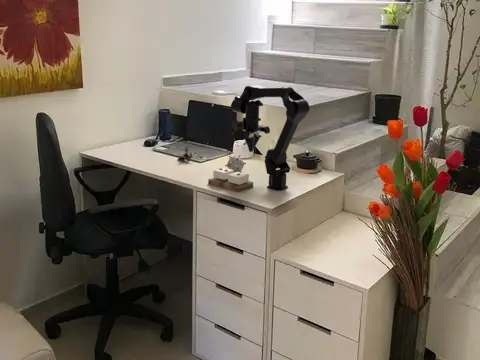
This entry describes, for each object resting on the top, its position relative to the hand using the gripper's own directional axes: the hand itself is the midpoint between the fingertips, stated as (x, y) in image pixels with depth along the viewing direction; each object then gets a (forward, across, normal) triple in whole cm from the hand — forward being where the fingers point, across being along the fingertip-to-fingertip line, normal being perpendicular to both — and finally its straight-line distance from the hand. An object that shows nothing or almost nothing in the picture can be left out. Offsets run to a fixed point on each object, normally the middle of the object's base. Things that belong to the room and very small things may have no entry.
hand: (250, 151), depth 246 cm
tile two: (+9, +13, -4) cm, 16 cm away
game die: (+12, -2, -10) cm, 16 cm away
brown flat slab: (+12, +13, 0) cm, 18 cm away
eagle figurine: (+12, -2, -41) cm, 43 cm away
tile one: (+10, +13, +4) cm, 17 cm away
